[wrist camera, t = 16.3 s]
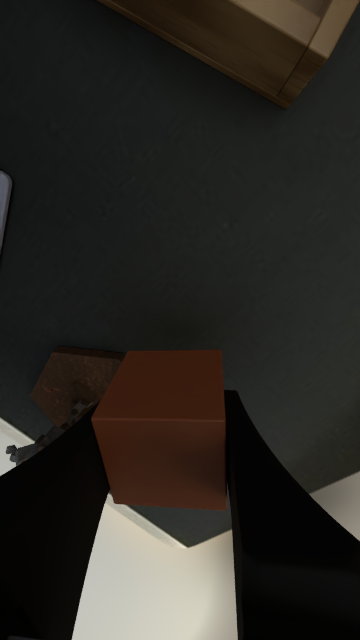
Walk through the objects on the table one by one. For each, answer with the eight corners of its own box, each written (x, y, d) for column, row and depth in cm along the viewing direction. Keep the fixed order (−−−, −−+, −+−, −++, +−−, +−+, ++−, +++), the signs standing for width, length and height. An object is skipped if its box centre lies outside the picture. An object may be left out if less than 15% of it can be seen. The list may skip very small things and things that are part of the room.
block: (140, 421, 15) (113, 505, 11) (127, 350, 13) (89, 418, 9) (223, 422, 14) (227, 511, 10) (221, 348, 12) (225, 420, 8)
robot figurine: (73, 318, 21) (-77, 447, 10) (173, 380, 22) (135, 552, 11) (26, 406, 25) (-113, 561, 15) (112, 453, 27) (43, 628, 16)
